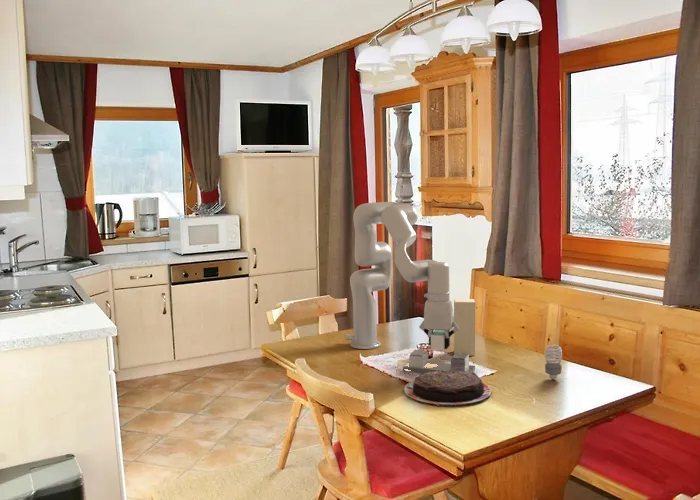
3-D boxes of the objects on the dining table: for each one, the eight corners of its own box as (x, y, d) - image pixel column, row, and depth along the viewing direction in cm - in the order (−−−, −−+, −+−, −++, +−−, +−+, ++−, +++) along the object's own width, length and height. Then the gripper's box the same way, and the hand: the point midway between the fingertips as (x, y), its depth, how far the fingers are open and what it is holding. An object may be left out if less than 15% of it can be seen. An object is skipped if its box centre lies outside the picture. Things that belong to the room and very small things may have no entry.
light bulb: (562, 377, 226) (562, 343, 224) (561, 382, 220) (562, 347, 219) (544, 376, 227) (545, 342, 226) (544, 381, 222) (544, 346, 221)
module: (430, 350, 234) (430, 334, 233) (435, 345, 240) (435, 329, 239) (443, 351, 232) (443, 334, 231) (447, 346, 238) (447, 330, 237)
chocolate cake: (401, 380, 228) (401, 361, 227) (483, 379, 227) (483, 360, 226) (406, 409, 200) (406, 388, 200) (499, 408, 199) (499, 387, 199)
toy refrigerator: (473, 350, 262) (473, 298, 259) (475, 355, 255) (475, 302, 252) (453, 350, 263) (453, 298, 260) (454, 355, 255) (454, 302, 253)
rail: (403, 371, 237) (403, 354, 236) (410, 364, 245) (410, 348, 245) (470, 377, 228) (470, 360, 228) (475, 369, 237) (475, 353, 236)
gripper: (412, 298, 233) (413, 348, 235) (460, 300, 227) (460, 352, 229) (418, 294, 240) (419, 343, 242) (464, 296, 234) (465, 346, 236)
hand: (439, 347), depth 236 cm, fingers closed on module, 4 cm apart
